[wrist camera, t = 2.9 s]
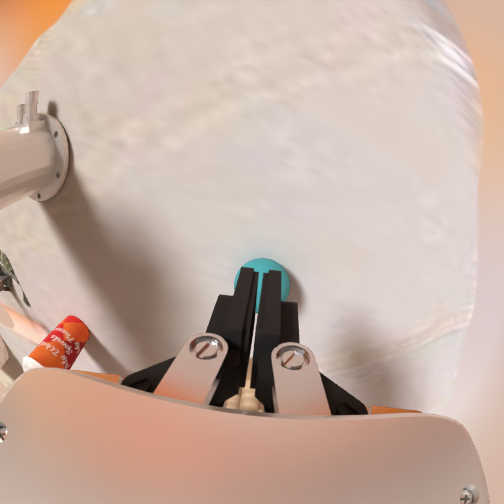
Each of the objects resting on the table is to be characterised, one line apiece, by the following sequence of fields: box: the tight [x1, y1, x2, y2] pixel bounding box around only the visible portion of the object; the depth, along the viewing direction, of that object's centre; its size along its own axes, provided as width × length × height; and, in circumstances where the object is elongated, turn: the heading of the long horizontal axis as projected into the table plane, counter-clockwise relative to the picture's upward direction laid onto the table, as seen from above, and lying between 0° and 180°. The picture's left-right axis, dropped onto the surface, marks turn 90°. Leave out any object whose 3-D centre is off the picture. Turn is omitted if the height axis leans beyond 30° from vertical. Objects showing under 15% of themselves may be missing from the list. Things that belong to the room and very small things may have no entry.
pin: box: [226, 387, 242, 410], centre depth 38 cm, size 2×2×8 cm
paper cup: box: [22, 316, 90, 372], centre depth 36 cm, size 8×8×14 cm
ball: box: [234, 258, 290, 313], centre depth 30 cm, size 6×6×6 cm
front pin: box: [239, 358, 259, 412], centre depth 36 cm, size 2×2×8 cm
